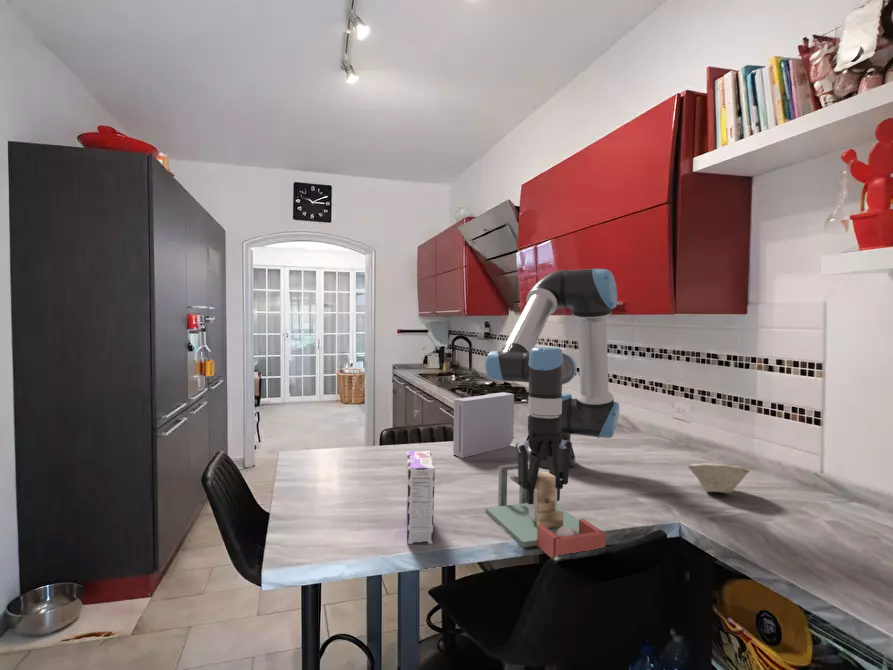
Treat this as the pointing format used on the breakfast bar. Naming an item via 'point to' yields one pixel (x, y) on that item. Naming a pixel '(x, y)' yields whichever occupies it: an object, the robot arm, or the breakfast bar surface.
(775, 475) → the breakfast bar surface
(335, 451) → the breakfast bar surface
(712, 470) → the bowl
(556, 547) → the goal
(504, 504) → the metal rectangular frame
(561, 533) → the ball
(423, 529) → the candy box
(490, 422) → the game console
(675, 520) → the breakfast bar surface
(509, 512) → the pitch board
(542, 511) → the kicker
